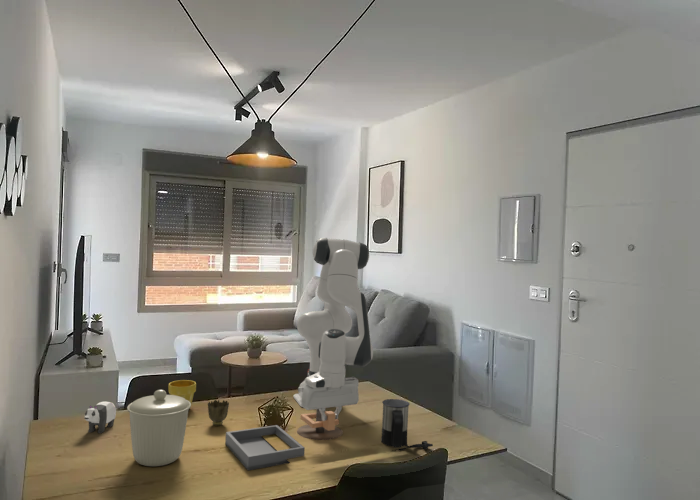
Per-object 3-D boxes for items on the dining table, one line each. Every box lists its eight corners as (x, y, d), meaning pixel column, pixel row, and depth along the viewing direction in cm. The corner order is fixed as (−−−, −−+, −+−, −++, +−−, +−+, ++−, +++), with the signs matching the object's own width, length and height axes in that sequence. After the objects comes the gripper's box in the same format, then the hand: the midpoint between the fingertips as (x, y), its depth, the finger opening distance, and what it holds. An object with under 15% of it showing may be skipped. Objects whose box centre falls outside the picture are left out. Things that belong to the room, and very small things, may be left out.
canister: (167, 443, 176) (170, 378, 175) (201, 460, 164) (203, 390, 164) (113, 459, 162) (116, 389, 161) (145, 478, 150) (148, 402, 150)
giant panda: (102, 422, 192) (103, 396, 192) (116, 424, 191) (118, 397, 191) (77, 437, 177) (78, 408, 177) (93, 439, 177) (94, 409, 177)
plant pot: (161, 410, 209) (162, 384, 209) (177, 402, 219) (178, 378, 219) (185, 413, 206) (186, 388, 206) (200, 406, 216) (201, 381, 216)
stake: (289, 431, 192) (290, 397, 192) (329, 425, 200) (330, 393, 200) (308, 447, 178) (310, 410, 178) (351, 440, 186) (352, 405, 186)
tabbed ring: (300, 418, 191) (301, 403, 191) (325, 415, 196) (326, 400, 196) (317, 432, 179) (318, 415, 179) (344, 428, 184) (345, 412, 184)
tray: (225, 444, 177) (225, 432, 177) (276, 436, 186) (277, 425, 186) (248, 470, 158) (248, 456, 158) (304, 460, 167) (304, 447, 167)
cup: (230, 422, 199) (231, 400, 199) (224, 429, 191) (225, 406, 191) (211, 420, 199) (212, 399, 199) (203, 427, 192) (204, 404, 192)
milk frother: (375, 442, 186) (377, 399, 185) (417, 438, 191) (419, 396, 191) (393, 458, 172) (395, 412, 172) (437, 454, 178) (439, 409, 177)
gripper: (354, 374, 190) (351, 413, 191) (300, 378, 180) (298, 420, 181) (363, 378, 185) (361, 418, 185) (308, 383, 175) (306, 426, 175)
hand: (329, 419), depth 183 cm, fingers closed on tabbed ring, 2 cm apart
